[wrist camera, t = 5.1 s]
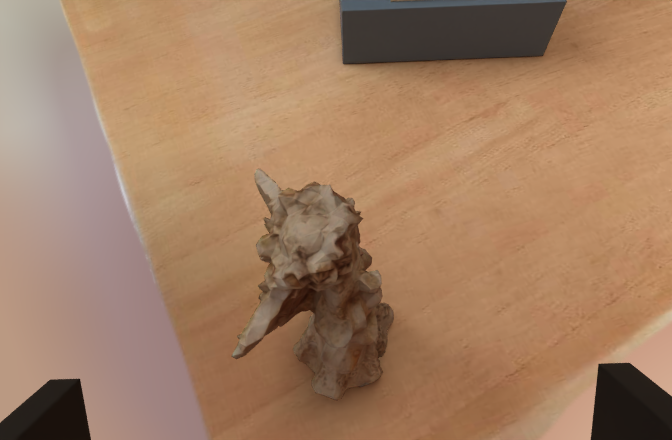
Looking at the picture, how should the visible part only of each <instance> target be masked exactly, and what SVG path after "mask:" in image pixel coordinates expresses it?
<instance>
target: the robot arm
mask: <svg viewBox="0 0 672 440" xmlns="http://www.w3.org/2000/svg"><path fill="white" fill-rule="evenodd" d="M591 434H592V435H591V440H672V396H670V395H669V394H668V393H667V392H665V391H664V390H663V389H662V388H660V387H659V386H658V385H657V384H655V383H654V382H653V381H652V380H650V379H649V378H648V377H647V376H645V375H644V374H643V373H642V372H640V371H639V370H638V369H637V368H635V367H634V366H633V365H632V364H630V363H608V364H599V366H598V375H597V385H596V396H595V405H594V415H593V424H592V433H591ZM0 440H91V437H90V433H89V426H88V421H87V415H86V410H85V404H84V399H83V394H82V388H81V382H80V379H58V380H49V381H48V382H47V383H46V384H45V385H43V386H42V387H41V388H40V389H39V390H38V391H37V392H35V393H34V394H33V395H32V396H31V397H30V398H28V399H27V400H26V401H25V402H24V403H23V404H21V405H20V406H19V407H18V408H17V409H16V410H14V411H13V412H12V413H11V414H10V415H9V416H8V417H6V418H5V419H4V420H3V421H2V422H1V423H0Z"/></svg>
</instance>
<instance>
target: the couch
mask: <svg viewBox="0 0 672 440" xmlns="http://www.w3.org/2000/svg"><path fill="white" fill-rule="evenodd" d="M566 2H567V1H566V0H340V18H341V37H342V56H343V64H351V63H375V62H399V61H424V60H448V59H472V58H496V57H521V56H543V54H544V52H545V50H546V48H547V45H548V43H549V41H550V39H551V36H552V34H553V32H554V29H555V27H556V25H557V23H558V20H559V18H560V16H561V14H562V11H563V9H564V7H565V4H566Z"/></svg>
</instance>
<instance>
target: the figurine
mask: <svg viewBox="0 0 672 440" xmlns="http://www.w3.org/2000/svg"><path fill="white" fill-rule="evenodd" d="M255 182H256V185H257V187H258V190H259V192H260V194H261V195H262V197H263V199H264V201H265V203H266V204H267V206H268V208H269V211H270V213H271V219H268V218H266V217H265V218H264V221H265V223H266V224H265V226H266V228H267V230H268V232H269V233H270V234H267V235H264V236H262V237H261V238H260V240H259V241H258V243H257V244H256V247H257V251H258V254H259V257H261V260H262V261H265V262H268V263H270V264H269V266H268V268H267V270H266V272H265V275H264V277H265V281H264V282H262V283H261V284H260V285H258V287H259V289H261V290H262V291H263V292H262V293H261V294H260V296H259V299H260V300H261V302H260V304H259V305H258V307H257V309H256V310H255V312H254V313H253V315H252V317H251V318H250V320H249V322H248V323H247V325H246V326H245V328H244V330H243V331H242V333H241V334H240V335H238V336H237V337H238V338H239V342H238V345H237V347H236V349H235V351H234V352H233V354H232V357H233V358H235V359H238V358H240V357H243V356H245V355H246V354H247V353H248V352H249V351H250V350H252V349H253V348H254V347H255V346H256V345H257V344H258V343H259V342H260V341H261V340H262V339H263V337H264V336H266V335H267V334H269V333H270V332H272V331H273V330H275V329H276V328H277V327H278V326H280V327H281V326H283V325H284V324H285V323H287V322H288V321H289V320H290V319H291V318H293V317H294V316H295V315H296V314H298V313H300V312H301V311H308V310H311V311H312V312H313V313H314V314H313V315H312V316H310V320H309V323H308V327H307V328H306V330H305V332H304V334H302V336H301V339H300V341H299V342H298V343H296V344H295V345H294V348H293V351H294V353H295V355H296V356H297V357H298V359H299V361H301V362H303V363H305V364H306V365H307V366H308V367H309V368H310V369H311V370H312V371H313V372H314V373H315V376H314V378H313V380H312V388H313V389H314V391H315V393H319V394H322V395H324V396H326V397H329V398H331V399H334V400H339V399H342V397H343V395H344V392H345V390H346V389H347V388H351V387H362V386H364V385H368V384H369V383H370V382H373V381H376V380H377V379H378V378H379V377H380V376H381V374H382V373H383V371H382V369H381V367H380V361H379V360H378V358H379V357H382V355H383V354H384V353H385V348H386V344H387V330H388V328H389V326H390V325H391V323H392V322H393V319H394V315H393V310H392V309H391V307H390V306H389V305H388V304H386V303H380V301H381V298H382V290H381V288H380V286H381V284H382V282H381V275H380V273H379V271H378V270H376V271H371V272H367V271H365V270H366V269H367V268H368V267H369V266H370V265H371V263H372V257H371V256H370V255H369V253H368V252H367V251H366V250H365V249H362V248H360V247H359V243H360V233H359V229H358V224H359V223H360V222H361V220H362V219H363V218H362V217H360V213H361V212H360V211H355V209H354V205H355V201H354V200H353V198H347V199H345V198H344V197H342V196H340V195H339V194H337V193H335V192H334V191H333V190H332V188H331V186H330V185H320V184H319V183H316V182H313V183H310V184H308V185H306V186H305V187H304V188H303V189H302V190H300V191H296V190H293V189H290V188H287V189H286V190H284V191H283V190H281V188H280V187H279V186H278V185H277V184H276V182H275V181H273V180H272V179H271V178H270V177H269V176H268V175H267V174H266V173H265V172H264V171H262V170H261V169H257V170H256V172H255Z"/></svg>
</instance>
